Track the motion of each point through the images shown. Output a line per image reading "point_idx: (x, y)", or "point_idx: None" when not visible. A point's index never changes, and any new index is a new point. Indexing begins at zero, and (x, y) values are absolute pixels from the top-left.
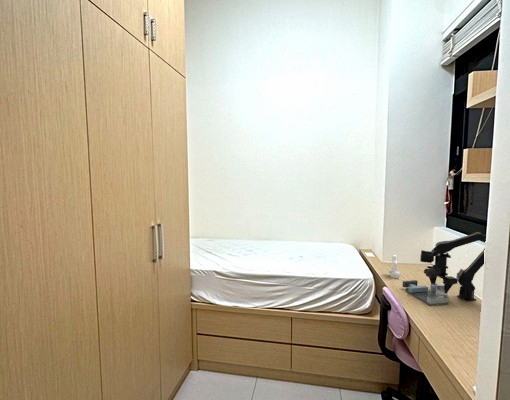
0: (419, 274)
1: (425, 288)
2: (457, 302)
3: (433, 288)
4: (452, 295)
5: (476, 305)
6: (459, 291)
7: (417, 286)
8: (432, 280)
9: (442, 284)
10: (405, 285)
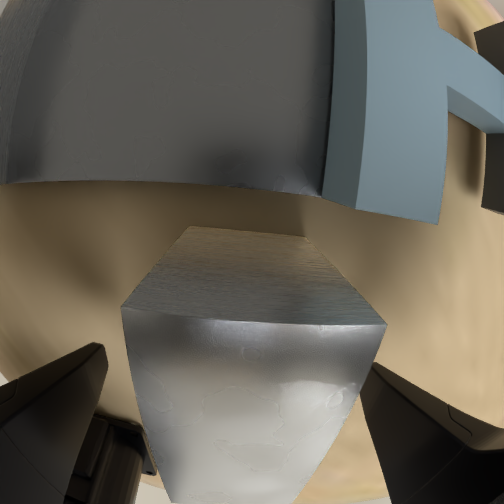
0: (500, 407)
1: (351, 130)
2: (20, 314)
3: (241, 268)
4: None
5: (8, 381)
6: (85, 461)
7: (429, 33)
8: (425, 444)
9: (213, 484)
10: (492, 40)
